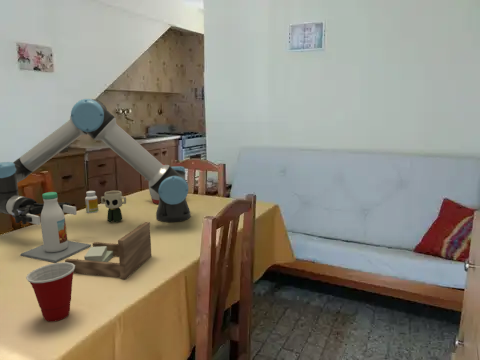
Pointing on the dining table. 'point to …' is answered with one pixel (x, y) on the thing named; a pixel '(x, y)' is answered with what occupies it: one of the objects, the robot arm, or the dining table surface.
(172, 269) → the dining table surface
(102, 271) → the tray
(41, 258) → the slate tile
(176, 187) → the robot arm
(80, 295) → the dining table surface
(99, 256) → the offcut stack
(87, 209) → the supplement bottle
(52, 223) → the milk bottle
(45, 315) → the plastic cup
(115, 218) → the character mug
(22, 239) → the dining table surface
